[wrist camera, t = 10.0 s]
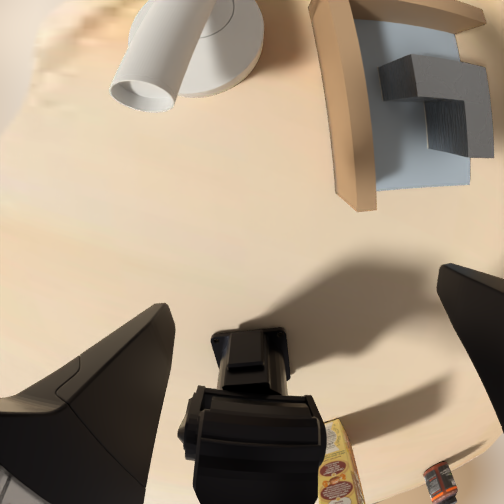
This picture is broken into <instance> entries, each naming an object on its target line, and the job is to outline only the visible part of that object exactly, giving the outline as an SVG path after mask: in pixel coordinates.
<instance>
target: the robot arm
mask: <svg viewBox="0 0 504 504" xmlns="http://www.w3.org/2000/svg"><path fill="white" fill-rule="evenodd" d="M437 293H438V295H439V297H440V300H441V302H442V304H443V306H444V308H445V310H446V312H447V314H448V317H449V319H450V321H451V323H452V325H453V327H454V329H455V331H456V333H457V335H458V337H459V338H460V340H461V342H462V344H463V346H464V347H465V349H466V351H467V353H468V355H469V357H470V359H471V361H472V363H473V365H474V367H475V369H476V371H477V373H478V375H479V377H480V379H481V381H482V383H483V385H484V387H485V389H486V392H487V394H488V396H489V398H490V400H491V403H492V405H493V407H494V410H495V412H496V415H497V417H498V419H499V422H500V424H501V426H502V430H503V433H504V279H502V278H499V277H495V276H492V275H489V274H486V273H483V272H479V271H476V270H473V269H469V268H466V267H463V266H459V265H456V264H452V263H448V264H443V265H441V266H440V269H439V275H438V282H437ZM280 332H281V333H282V334H278V333H280ZM174 339H175V323H174V320H173V317H172V314H171V311H170V308H169V306H168V304H166V303H158V304H154V305H152V306H151V307H149V308H148V309H146V310H145V311H143V312H142V313H140V314H139V315H137V316H136V317H135V318H133V319H132V320H130V321H129V322H127V323H126V324H124V325H123V326H121V327H120V328H118V329H117V330H115V331H114V332H113V333H111V334H110V335H108V336H107V337H105V338H104V339H102V340H101V341H99V342H98V343H96V344H95V345H94V346H92V347H91V348H89V349H88V350H86V351H85V352H83V353H82V354H81V355H80V356H77V357H76V358H75V359H73V360H72V361H70V362H69V363H67V364H66V365H64V366H63V367H61V368H60V369H58V370H57V371H55V372H53V373H52V374H50V375H48V376H47V377H45V378H43V379H42V380H40V381H38V382H37V383H35V384H33V385H32V386H30V387H28V388H27V389H25V390H23V391H22V392H20V393H18V394H16V395H14V396H11V397H6V398H0V504H143V503H144V497H145V491H146V489H145V488H146V484H147V479H148V473H149V468H150V463H151V458H152V453H153V448H154V443H155V438H156V433H157V428H158V424H159V419H160V414H161V410H162V405H163V401H164V397H165V392H166V388H167V384H168V379H169V375H170V370H171V364H172V355H173V347H174ZM215 339H218V341H217V340H215ZM211 344H212V348H213V351H214V354H215V357H216V361H217V364H218V367H219V377H218V384H217V389H212V388H205V386H199V385H198V388H197V391H196V393H194V394H193V398H190V399H189V402H188V406H187V411H186V415H185V417H184V419H183V421H182V423H181V425H180V427H179V429H178V438H179V439H180V440H181V442H182V443H183V447H184V450H185V458H186V460H192V461H195V466H194V476H193V488H194V490H195V493H196V496H197V498H198V500H199V502H200V504H314V503H315V502H316V500H317V498H318V470H319V467H320V466H321V464H322V463H323V460H324V458H325V453H326V447H327V433H326V428H325V425H324V422H323V420H322V418H321V415H320V413H319V411H318V409H317V406H316V404H315V402H314V399H313V397H312V395H305V396H288V392H287V382H286V381H288V380H289V379H290V367H289V357H288V348H287V339H286V331H285V329H284V328H282V327H278V328H270V329H261V330H251V331H242V332H232V333H221V334H214V335H212V337H211Z"/></svg>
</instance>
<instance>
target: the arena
mask: <svg viewBox="0 0 504 504" xmlns="http://www.w3.org/2000/svg"><path fill="white" fill-rule="evenodd" d="M308 9H309V13H310V18H311V22H312V27H313V32H314V37H315V42H316V47H317V52H318V57H319V63H320V69H321V75H322V81H323V87H324V93H325V100H326V107H327V115H328V122H329V130H330V139H331V148H332V158H333V168H334V179H335V192H336V194H337V195H338V196H340V197H341V198H342V199H343V200H344V201H345V202H347V203H348V204H349V205H350V206H351V207H352V208H353V209H354V210H356V211H357V212H363V211H372V210H377V200H376V191H383V190H395V189H408V188H422V187H437V186H454V185H470V158H468V157H464V156H459V155H455V154H451V153H446V152H442V151H437V150H432V149H428V135H427V123H426V113H425V105H424V103H423V102H400V101H383V97H382V90H381V84H380V78H379V72H378V67H380V66H382V65H385V64H387V63H390V62H392V61H394V60H397V59H399V58H402V57H404V56H407V55H409V54H416V55H424V56H431V57H437V58H443V59H449V60H454V61H459V62H460V58H459V53H458V48H457V43H456V39H455V35H454V34H456V33H459V32H462V31H465V30H468V29H472V28H475V27H478V26H481V25H485V24H486V20H485V17H484V14H483V10H482V9H479V8H477V7H474V6H471V5H468V4H465V3H463V2H460V1H456V0H311V2H310V4H309V7H308Z"/></svg>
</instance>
